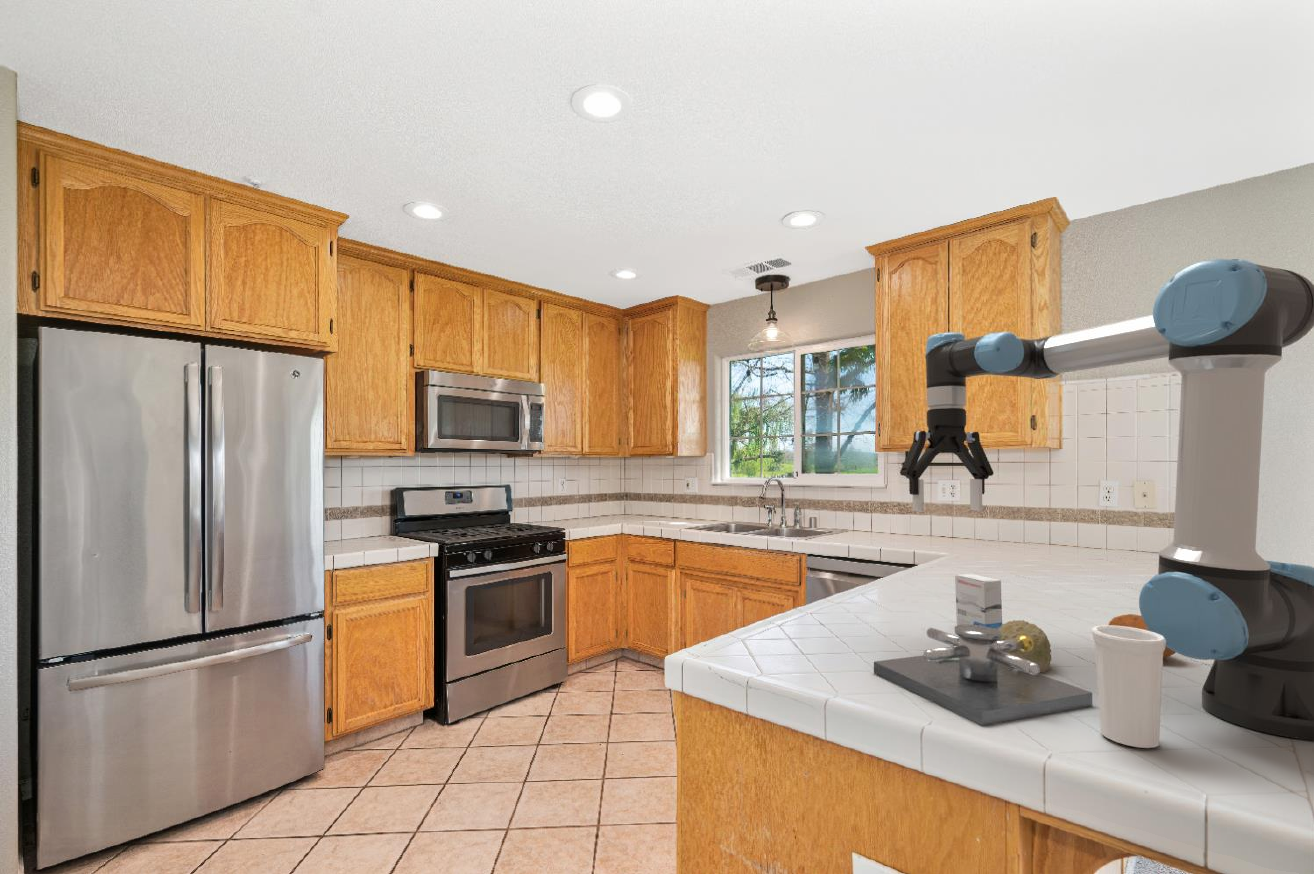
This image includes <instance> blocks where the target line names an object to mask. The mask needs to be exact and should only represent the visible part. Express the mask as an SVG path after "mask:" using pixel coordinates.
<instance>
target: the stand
mask: <svg viewBox="0 0 1314 874" xmlns="http://www.w3.org/2000/svg"><path fill="white" fill-rule="evenodd" d="M997 668H998V679H997V680H995V681H978V680H972V679H969V678H966V677H963V676H962V675H960V674H959V658H953V659H945V660H938V661H927V660H926V659H925V658H924V656H923V654H922V655H915V656H908V657H901V658H892V659H885V660H876V661H873V674H874V675H877V676H879V677H880V678H883V679H885V680H888V681H889V682H891V683H893V684H896V685H897V686H899V687H901V688H904V689H906V690H908V691H910V692H912V693H913V694H916V695H918V696H920V697H922V698H924V699H926V700H928V701H930V702H932V703H934V704H936V705H938V706H941V707H942V708H944V709H947V710H949V711H951V712H953V713H955V714H957V715H959V714H960V715H959V716H961V717H963V718H965V717H966V718H965V719H967V720H970V721H971V722H973V721H974V722H973V723H975V722H976V723H975V724H977V725H980V726H982V727H983V726H990V725H995V724H994V723H996V724H1001V723H1007V722H1012V721H1016V720H1023V719H1027V718H1033V717H1039V716H1044V715H1045V716H1046V715H1049V714H1055V713H1056V714H1057V713H1060V712H1066V711H1073V710H1076V709H1081V708H1088V707H1093V692H1092V691H1089V690H1086V689H1083V688H1080V687H1078V686H1074V685H1071V684H1069V683H1066V682H1063V681H1061V680H1059V679H1058V680H1057V679H1055V678H1052V677H1050V676H1046V675H1043V674H1040V673H1039V674H1037V675H1031V674H1029V673H1026V672H1023V671H1020V670H1018V669H1015V668H1012V667H1009V666H1007V665H1004V664H1001V663H998V662H997ZM1006 721H1007V722H1006ZM1000 722H1001V723H1000Z"/></svg>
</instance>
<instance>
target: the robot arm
mask: <svg viewBox="0 0 1314 874" xmlns="http://www.w3.org/2000/svg"><path fill="white" fill-rule="evenodd" d="M1313 328H1314V284H1313V283H1312V281H1311V280H1309V279H1308V278H1307V277H1306V276H1304V275H1301V274H1300V273H1297V272H1295V271H1292V270H1288V269H1283V268H1277V267H1270V266H1266V265H1261V264H1257V263H1253V262H1250V261H1248V260H1245V259H1239V258H1238V259H1237V258H1232V259H1223V258H1219V259H1218V258H1214V259H1207V260H1202V261H1198V262H1197V263H1194V264H1192V265H1190V266H1187V267H1185V268H1184V269H1182V270H1180V271H1178V272H1177V273H1175V275H1174V276H1173V277H1172V278H1171V279H1170V280H1169V281H1167V282H1166V283H1165V284H1164V286H1162V288H1161V289H1160V291H1159V292H1158V294H1157V296H1156V298H1155V300H1154V303H1153V307H1152V314H1148V315H1143V316H1142V315H1141V316H1138V317H1134V318H1129V319H1125V320H1119V321H1115V322H1111V323H1105V324H1102V325H1097V326H1092V327H1086V328H1082V329H1078V330H1073V331H1069V332H1064V333H1059V334H1055V335H1051V336H1045V337H1041V338H1036V339H1026V338H1020V337H1019V336H1017V335H1015V333H1014V332H1011V331H1001V332H991V333H988V334H985V335H981V336H977V337H972V338H968V339H966V336H965V335H964V334H963V333H960V332H944V333H943V332H942V333H936V334H932V335H931V336H929V337H928V338H927V340H926V344H925V345H926V346H925V355H924V356H925V358H924V359H925V367H926V368H925V369H926V370H925V371H926V374H925V375H926V377H925V378H926V407H927V408H929V409H928V410H927V411H926V426H927V428H928V430H927V431H925V430H917V431H914V432H913V442H912V443H911V446H910V448H909V450H908V453H907V455H906V457H905V459H904V462H903V464H902V467H901V468H900V471H899V474H900V476H903V477H905V478H906V479H908V483H909V484H908V488H909V489H908V491H909V494H910V495H912V511H913V512H914V511H915V512H925V504H924V503H925V499H924V498H925V497H924V495H925V493H924V491H925V490H924V489H925V488H924V484H925V483H924V479H923V478H921V476H922V475H923V474H924V472H925V471H926V470H927V468H928V467H929V466H930V464H932V462H933V461H934V459H935V458H936V457H937V455H939V454H954V455H956V456H957V457H958V459H959V460H960V461H961V462H962V464H963V465H964V467H965V468H966V470H968V472H969V473H970V474H971V476H972V477H973V478H970V479H969V505H970V507H969V508H970V511H979V512H982V511H983V495H984V494H985V492H986V489H985V480H988V479H989V477H992V476H994V470H993V468H992V466H991V463H990V461H989V459H988V457H987V455H986V452H985V450H984V447H983V446H982V444H981V440H980V438H981V437H980V433H979V432H978V431H968V432H966V430H965V428H966V426H967V410H966V409H965V408H964V407H966V406H967V388H966V386H967V378H971V377H978V376H987V375H989V376H991V375H992V376H1002V377H1016V378H1017V377H1020V378H1029V379H1030V378H1031V379H1035V380H1041V379H1042V380H1044V379H1052V378H1056V377H1058V376H1059V375H1060V374H1064V373H1070V372H1076V371H1084V370H1085V371H1086V370H1090V369H1097V368H1103V367H1109V366H1110V367H1111V366H1117V365H1125V364H1131V363H1137V362H1144V361H1149V360H1151V361H1152V360H1156V359H1157V360H1158V359H1164V358H1168V364H1169V365H1170V366H1172V368H1174V369H1175V370H1176V371H1177V372H1179V373H1180V376H1181V379H1180V382H1181V384H1180V404H1179V421H1178V442H1177V443H1178V444H1177V462H1176V463H1177V466H1176V481H1175V483H1176V484H1175V485H1176V487H1175V500H1174V501H1175V502H1174V503H1175V505H1174V522H1173V523H1174V525H1173V541H1172V542H1171V543H1170V544H1169V545H1167V546H1165V547H1164V548H1163V549H1161V550H1160V551H1159V553H1158V555H1159V556H1158V572H1157V574H1156V575H1154V576H1152V577H1151V579H1149V580H1148V581H1147V582H1146V583H1145V584H1144V585H1143V587H1142V588H1141V590H1140V593H1139V596H1138V597H1139V598H1138V606H1139V607H1138V608H1139V612H1140V616H1142V618H1143V620H1144V623H1145V624H1146V626H1147V628H1148V629H1149V630H1150V631H1151V632H1155V633H1157V634H1160V635H1162V636H1163V637H1164V638H1165V640H1166V647H1168V648H1169V649H1171V650H1173V651H1174V652H1176V653H1177V654H1179V655H1181V656H1183V657H1187V658H1190V659H1194V660H1202V661H1206V660H1207V661H1209V660H1210V661H1211V660H1213V663H1212V666H1211V668H1210V670H1209V672H1208V674H1207V677H1206V680H1205V682H1204V684H1203V686H1202V689H1201V706H1202V708H1203V709H1204V710H1205V711H1207V712H1208V713H1210V714H1211V715H1213V716H1215V717H1217V718H1219V719H1221V720H1224V721H1226V722H1229V723H1232V724H1235V725H1237V726H1241V727H1243V728H1244V727H1245V728H1248V729H1250V730H1254V731H1259V732H1263V733H1266V734H1271V735H1275V736H1281V737H1285V738H1286V737H1287V738H1293V739H1299V740H1308V741H1314V567H1313V566H1309V565H1304V564H1303V565H1302V564H1296V563H1287V562H1281V561H1273V560H1267V559H1266V560H1265V559H1264V558H1263V557H1262V556H1260V555H1259V553H1258V552H1257V547H1256V544H1257V532H1258V531H1257V528H1258V510H1259V509H1258V508H1259V507H1258V506H1259V488H1260V473H1261V472H1260V470H1261V455H1262V454H1261V453H1262V452H1261V451H1262V436H1263V435H1262V434H1263V416H1264V398H1265V397H1264V396H1265V393H1264V392H1265V379H1266V372H1267V371H1268V370H1270V369H1271V368H1272V367H1273V366H1275V365H1276V364H1278V363H1279V362H1280V361H1281V360H1282V354H1283V349H1284V348H1286V347H1288V346H1291V345H1293V344H1294V343H1297V342H1299V341H1300V340H1301V339H1303V337H1305V336H1307V334H1308V333H1309V332H1310V331H1311V330H1312V329H1313ZM926 442H929V444H928V445H927V447H926V448H925V445H926ZM965 442H966V443H967V445H966V444H965ZM924 448H925V449H924ZM923 450H924V452H923ZM969 451H970V452H969ZM921 453H923V454H922V455H921ZM920 478H921V479H920ZM1176 653H1175V654H1176Z"/></svg>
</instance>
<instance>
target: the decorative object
mask: <svg viewBox="0 0 1314 874" xmlns="http://www.w3.org/2000/svg"><path fill="white" fill-rule="evenodd" d="M999 631H1001V639H1000V640H997V641H1001V640H1009V639H1016V637H1017V636H1019V635H1027V636H1029V637H1030V638H1031V639H1032V640H1033V643H1034V647H1033V649H1032V650H1031V651H1029V652H1022V651H1020V650H1014V651H1006V652H1005V653H1008V654H1011V655H1014V656H1017V657H1020V658H1022V659H1025V660H1028V661H1031V662H1034V663H1036V664H1038V665H1039V667H1040V672H1039V674H1040V673H1045V672H1047V671H1049V669H1050V667H1051V666H1050V665H1051V662H1052V654H1051V653H1052V649H1051V644H1050V640H1049V639H1048V636H1047V634H1046V633H1045V632H1044V631H1043V630H1042V629H1041V628H1040V627H1038V626H1037V624H1035V623H1030V622H1029V621H1025V620H1021V619H1020V620H1016V619H1015V620H1012V621H1007V622H1006V623H1002V626H1001V627H1000V628H999Z"/></svg>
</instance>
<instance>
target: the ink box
mask: <svg viewBox="0 0 1314 874" xmlns="http://www.w3.org/2000/svg"><path fill="white" fill-rule="evenodd" d="M954 576H955V579H954V580H955V581H954V582H955V585H954V586H955V607H956V609H955V610H956V611H955V612H956V626H958V625H980V626H986V627H991V628H994V629H997V630H999V628H1000V627H1001V626H1002V624H1003V607H1002V603H1003V602H1002V601H1003V600H1002V580H1001V579H996V578H992V577H987V576H982V575H979V574H974V573H965V574H963V573H962V574H956V575H954Z"/></svg>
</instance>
